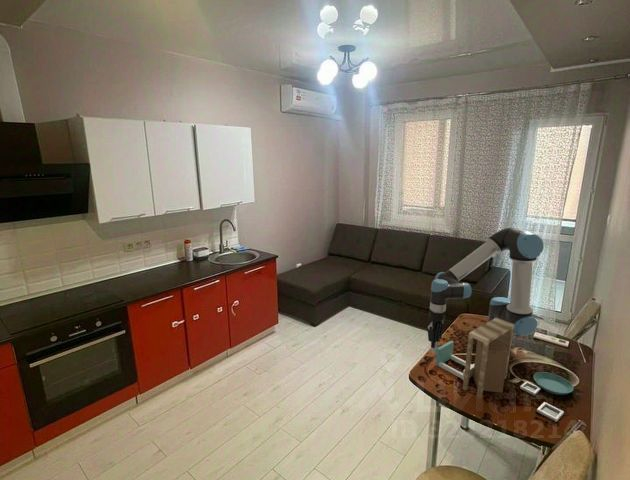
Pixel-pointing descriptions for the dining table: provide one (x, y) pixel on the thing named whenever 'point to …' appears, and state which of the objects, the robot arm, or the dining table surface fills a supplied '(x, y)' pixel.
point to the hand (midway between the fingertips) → (433, 352)
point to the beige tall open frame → (486, 334)
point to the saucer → (553, 383)
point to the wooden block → (491, 366)
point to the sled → (446, 353)
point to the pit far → (550, 411)
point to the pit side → (530, 388)
